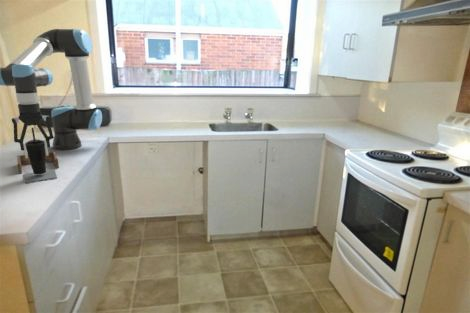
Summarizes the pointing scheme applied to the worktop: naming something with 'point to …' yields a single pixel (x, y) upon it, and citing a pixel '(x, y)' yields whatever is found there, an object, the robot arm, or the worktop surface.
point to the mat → (39, 176)
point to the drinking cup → (36, 154)
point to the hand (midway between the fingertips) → (37, 156)
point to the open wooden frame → (23, 160)
